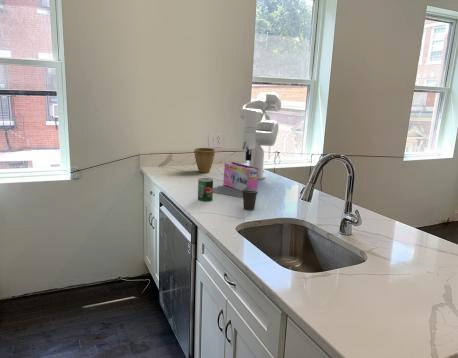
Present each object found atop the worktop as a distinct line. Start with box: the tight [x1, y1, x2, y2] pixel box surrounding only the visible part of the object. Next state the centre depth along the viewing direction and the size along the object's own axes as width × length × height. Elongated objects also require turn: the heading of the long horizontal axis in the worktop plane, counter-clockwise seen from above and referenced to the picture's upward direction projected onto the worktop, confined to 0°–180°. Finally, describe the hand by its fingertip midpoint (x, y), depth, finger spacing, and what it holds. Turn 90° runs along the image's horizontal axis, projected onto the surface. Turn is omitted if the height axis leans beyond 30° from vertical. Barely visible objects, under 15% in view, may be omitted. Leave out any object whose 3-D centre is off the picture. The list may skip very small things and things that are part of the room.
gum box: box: [223, 161, 259, 191], centre depth 228 cm, size 24×8×14 cm, turn 39°
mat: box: [213, 185, 243, 199], centre depth 219 cm, size 14×24×1 cm, turn 60°
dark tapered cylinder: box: [242, 188, 259, 211], centre depth 189 cm, size 8×8×10 cm
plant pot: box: [193, 147, 216, 174], centre depth 268 cm, size 15×15×16 cm
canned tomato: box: [197, 177, 214, 203], centre depth 201 cm, size 8×8×11 cm
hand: (248, 160), depth 233 cm, fingers closed
